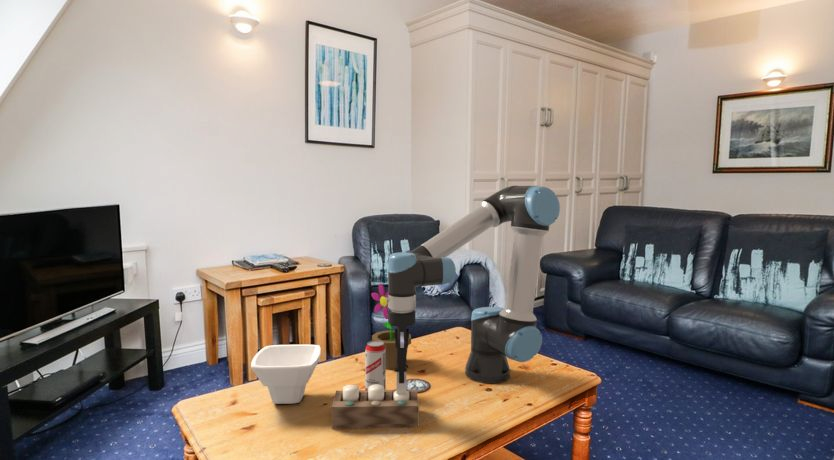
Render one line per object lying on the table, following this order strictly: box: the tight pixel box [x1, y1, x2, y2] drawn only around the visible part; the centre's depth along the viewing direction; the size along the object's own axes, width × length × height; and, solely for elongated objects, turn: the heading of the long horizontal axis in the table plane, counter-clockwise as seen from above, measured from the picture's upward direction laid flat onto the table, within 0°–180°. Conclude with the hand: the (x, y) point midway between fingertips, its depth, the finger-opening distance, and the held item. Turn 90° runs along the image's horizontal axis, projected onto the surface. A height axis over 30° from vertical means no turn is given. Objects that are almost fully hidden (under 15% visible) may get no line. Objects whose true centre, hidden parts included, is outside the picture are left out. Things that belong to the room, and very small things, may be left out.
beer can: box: [364, 340, 387, 390], centre depth 147 cm, size 6×6×16 cm
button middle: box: [368, 384, 384, 401], centre depth 133 cm, size 4×4×5 cm
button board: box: [331, 389, 420, 430], centre depth 132 cm, size 23×10×6 cm, turn 93°
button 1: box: [342, 384, 360, 401], centre depth 132 cm, size 4×4×5 cm
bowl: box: [250, 343, 322, 405], centre depth 143 cm, size 19×19×14 cm
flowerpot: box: [370, 283, 412, 371], centre depth 171 cm, size 14×14×30 cm
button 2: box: [394, 391, 409, 400], centre depth 133 cm, size 4×4×5 cm
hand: (401, 392), depth 133 cm, fingers closed
